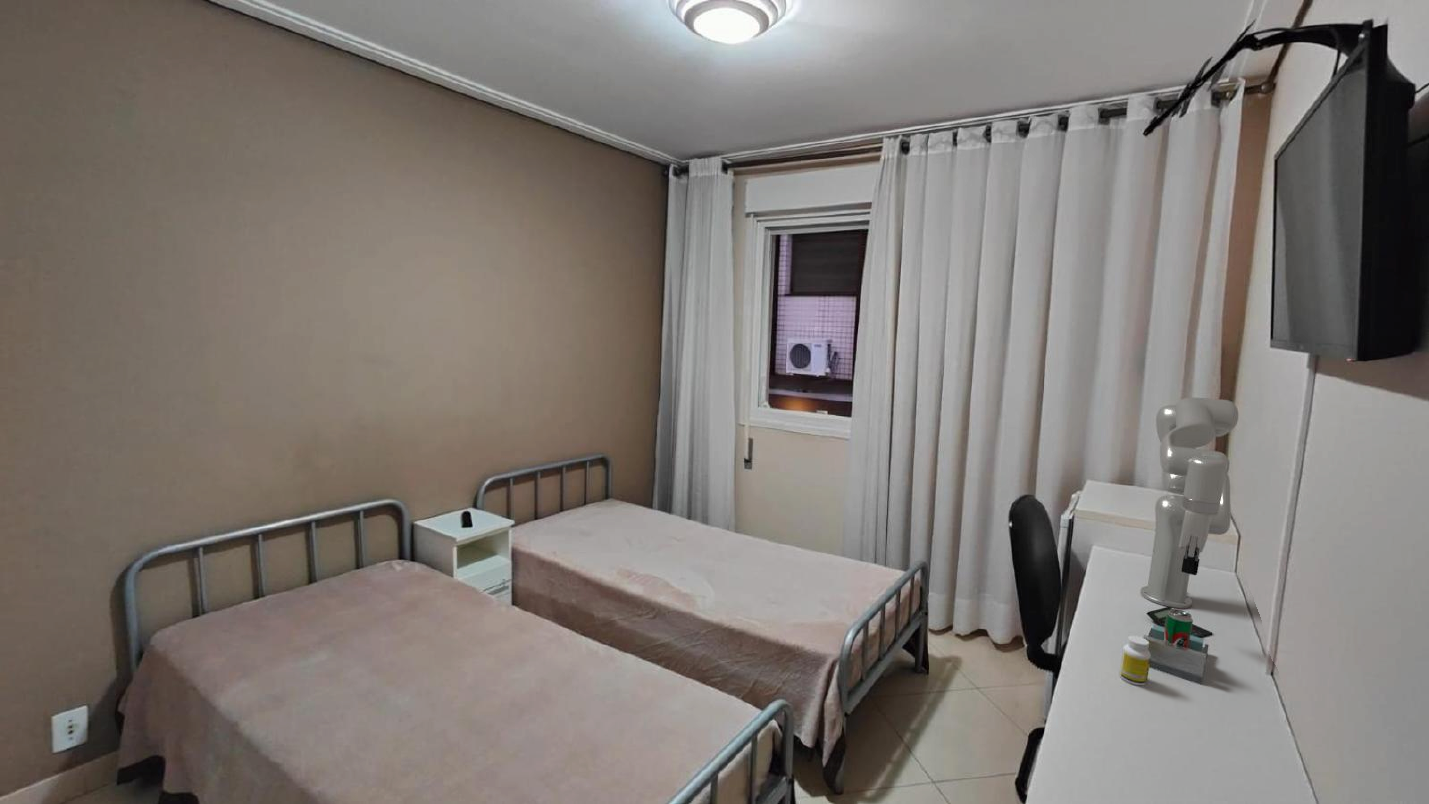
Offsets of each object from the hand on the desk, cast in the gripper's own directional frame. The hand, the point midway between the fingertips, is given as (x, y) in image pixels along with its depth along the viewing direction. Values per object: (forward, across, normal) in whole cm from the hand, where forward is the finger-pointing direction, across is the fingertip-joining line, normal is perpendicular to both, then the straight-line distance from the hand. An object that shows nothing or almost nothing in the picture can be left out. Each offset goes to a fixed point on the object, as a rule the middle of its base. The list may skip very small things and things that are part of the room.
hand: (1189, 572), depth 164 cm
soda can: (+16, +18, +1) cm, 24 cm away
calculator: (+19, -7, -1) cm, 20 cm away
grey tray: (+18, +14, 0) cm, 23 cm away
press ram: (+16, +14, 0) cm, 21 cm away
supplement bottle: (+17, +32, -6) cm, 37 cm away
